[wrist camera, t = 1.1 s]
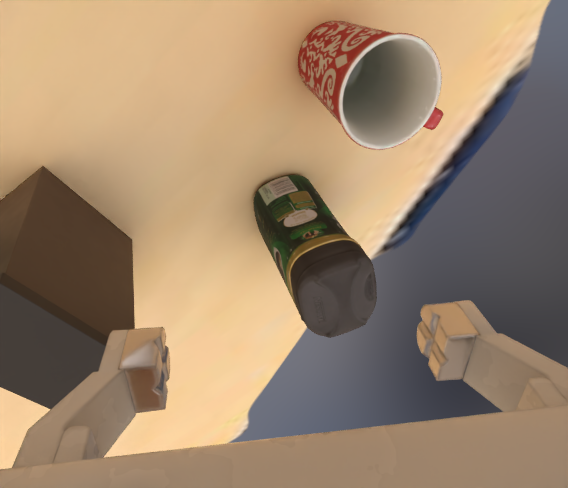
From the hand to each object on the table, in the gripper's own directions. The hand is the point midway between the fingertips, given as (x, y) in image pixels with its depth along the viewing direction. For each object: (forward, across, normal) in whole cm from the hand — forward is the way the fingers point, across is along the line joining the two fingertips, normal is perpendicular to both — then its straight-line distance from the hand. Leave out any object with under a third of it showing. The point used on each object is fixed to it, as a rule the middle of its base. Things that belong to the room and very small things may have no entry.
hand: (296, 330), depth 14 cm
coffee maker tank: (+34, +20, +14) cm, 41 cm away
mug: (+38, -11, -1) cm, 40 cm away
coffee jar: (+38, -4, +15) cm, 41 cm away
